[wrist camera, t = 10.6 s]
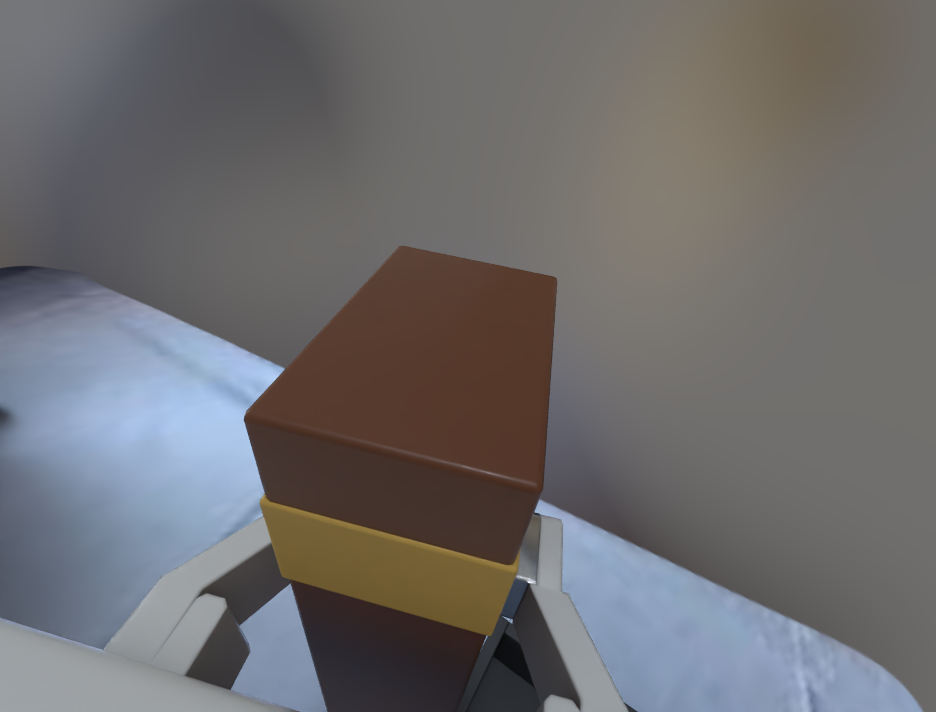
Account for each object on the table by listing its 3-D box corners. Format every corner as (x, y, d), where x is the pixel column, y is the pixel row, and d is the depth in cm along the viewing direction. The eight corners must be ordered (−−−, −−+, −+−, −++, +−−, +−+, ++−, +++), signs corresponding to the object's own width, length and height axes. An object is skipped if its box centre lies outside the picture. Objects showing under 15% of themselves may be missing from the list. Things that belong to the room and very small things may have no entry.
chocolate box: (331, 740, 13) (230, 416, 4) (390, 574, 17) (398, 241, 8) (435, 774, 12) (549, 496, 4) (469, 596, 16) (561, 274, 8)
